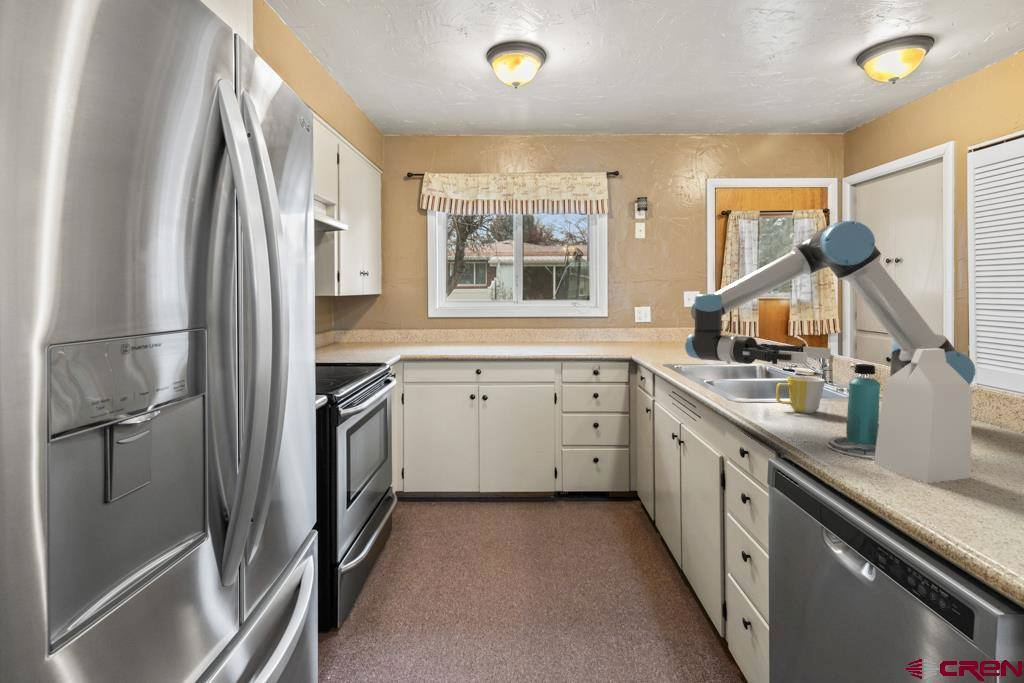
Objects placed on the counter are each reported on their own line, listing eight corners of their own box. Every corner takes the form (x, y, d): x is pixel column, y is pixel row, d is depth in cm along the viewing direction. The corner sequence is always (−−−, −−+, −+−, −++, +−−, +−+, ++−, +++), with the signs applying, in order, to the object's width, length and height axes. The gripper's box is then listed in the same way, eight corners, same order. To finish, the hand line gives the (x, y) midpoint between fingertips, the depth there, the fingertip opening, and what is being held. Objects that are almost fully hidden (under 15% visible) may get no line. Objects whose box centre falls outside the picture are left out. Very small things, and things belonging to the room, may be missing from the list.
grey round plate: (856, 439, 138) (856, 434, 138) (911, 455, 125) (912, 450, 125) (813, 444, 134) (813, 439, 134) (866, 461, 120) (866, 455, 120)
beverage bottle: (882, 451, 126) (888, 366, 124) (851, 450, 127) (855, 365, 125) (870, 444, 132) (875, 362, 130) (840, 442, 133) (844, 362, 132)
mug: (818, 408, 173) (820, 376, 172) (827, 416, 163) (829, 381, 162) (771, 406, 177) (773, 374, 176) (777, 413, 167) (779, 379, 166)
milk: (926, 483, 107) (937, 353, 104) (873, 465, 118) (881, 347, 115) (970, 477, 110) (982, 351, 108) (914, 460, 121) (923, 345, 119)
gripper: (760, 358, 161) (838, 365, 144) (713, 367, 145) (794, 376, 129) (761, 333, 160) (839, 337, 143) (714, 339, 144) (795, 344, 128)
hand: (818, 355), depth 136 cm, fingers open, 13 cm apart
